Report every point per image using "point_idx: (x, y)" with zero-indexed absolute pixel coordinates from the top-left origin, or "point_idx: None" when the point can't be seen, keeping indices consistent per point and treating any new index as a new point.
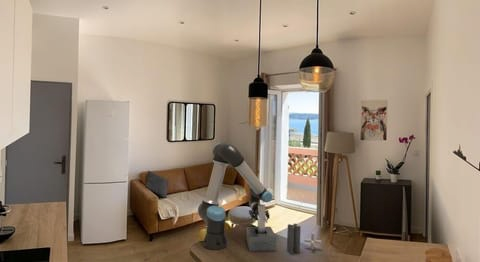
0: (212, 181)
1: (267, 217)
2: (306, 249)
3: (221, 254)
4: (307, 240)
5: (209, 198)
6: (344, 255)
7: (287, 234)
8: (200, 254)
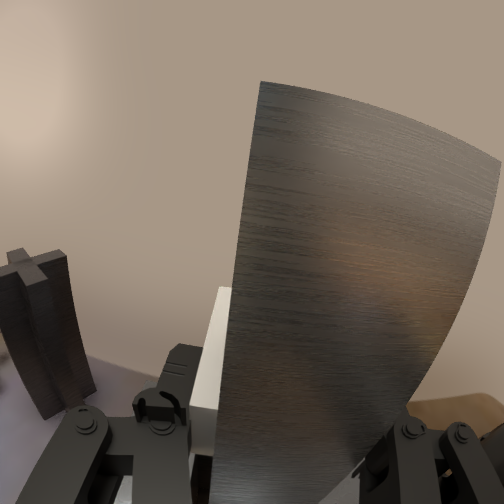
0: None
1: (176, 356)
2: (4, 384)
3: (442, 418)
4: None
5: None
6: None
7: (63, 344)
8: (496, 405)
